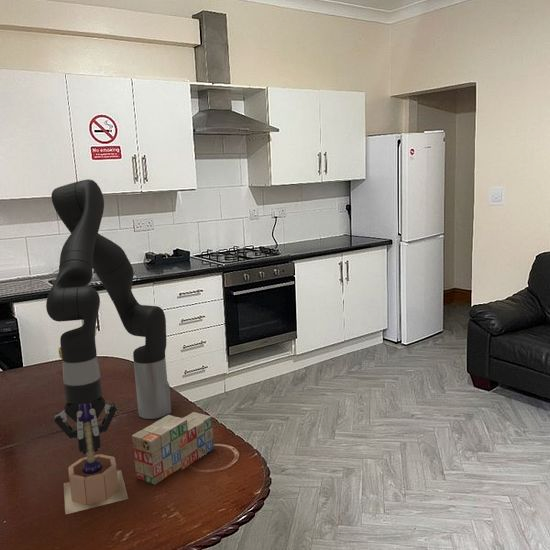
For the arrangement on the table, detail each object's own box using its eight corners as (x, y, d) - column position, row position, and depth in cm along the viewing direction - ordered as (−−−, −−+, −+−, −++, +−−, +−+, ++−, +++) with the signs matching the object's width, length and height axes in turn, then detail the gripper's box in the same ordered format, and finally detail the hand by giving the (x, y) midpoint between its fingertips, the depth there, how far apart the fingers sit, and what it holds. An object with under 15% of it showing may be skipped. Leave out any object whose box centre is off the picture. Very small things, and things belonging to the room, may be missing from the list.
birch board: (121, 474, 133) (121, 469, 133) (128, 503, 121) (128, 498, 121) (64, 487, 128) (63, 483, 128) (66, 519, 117) (65, 514, 116)
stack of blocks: (196, 443, 147) (193, 400, 145) (214, 449, 144) (211, 405, 141) (135, 483, 130) (131, 434, 127) (155, 490, 126) (150, 440, 124)
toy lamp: (94, 476, 121) (88, 404, 118) (75, 474, 122) (68, 403, 119) (105, 465, 125) (99, 396, 122) (87, 463, 126) (80, 394, 123)
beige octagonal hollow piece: (115, 474, 131) (112, 451, 130) (120, 496, 122) (117, 471, 121) (70, 484, 127) (67, 461, 126) (72, 508, 118) (69, 483, 117)
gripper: (112, 366, 126) (119, 437, 129) (47, 377, 121) (56, 450, 124) (116, 377, 119) (123, 451, 122) (47, 389, 114) (57, 466, 117)
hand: (90, 450), depth 123 cm, fingers closed on toy lamp
